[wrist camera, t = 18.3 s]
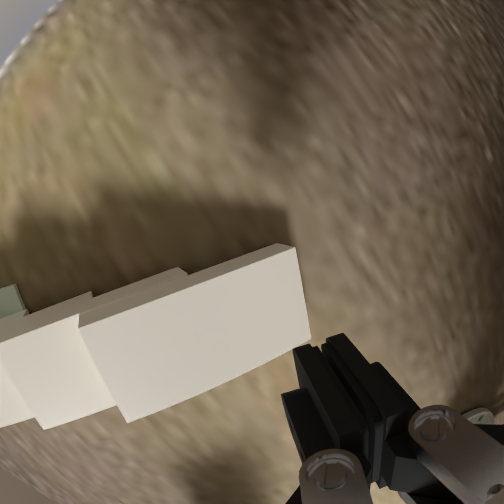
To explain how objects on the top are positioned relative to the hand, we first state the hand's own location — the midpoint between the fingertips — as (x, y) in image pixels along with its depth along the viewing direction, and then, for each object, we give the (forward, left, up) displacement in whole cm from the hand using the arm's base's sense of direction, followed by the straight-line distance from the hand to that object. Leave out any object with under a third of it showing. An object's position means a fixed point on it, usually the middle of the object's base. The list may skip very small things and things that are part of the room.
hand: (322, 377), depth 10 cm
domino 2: (+4, 0, -7) cm, 8 cm away
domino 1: (-1, 0, -7) cm, 7 cm away
